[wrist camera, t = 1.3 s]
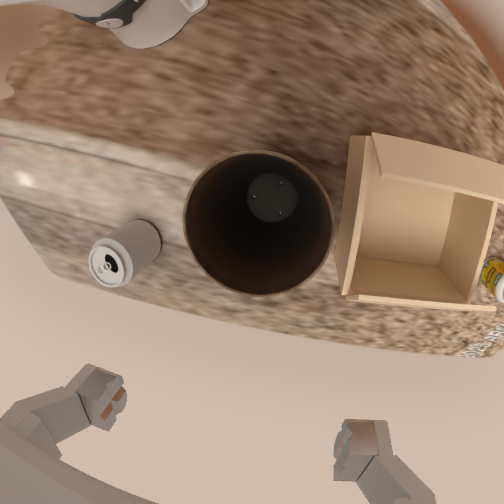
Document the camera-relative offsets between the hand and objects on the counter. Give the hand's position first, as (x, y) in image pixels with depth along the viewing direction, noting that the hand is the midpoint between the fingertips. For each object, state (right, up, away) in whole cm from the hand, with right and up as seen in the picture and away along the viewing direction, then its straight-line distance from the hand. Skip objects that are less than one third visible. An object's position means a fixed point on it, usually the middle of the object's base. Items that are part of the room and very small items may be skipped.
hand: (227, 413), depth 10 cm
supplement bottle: (+42, +2, +33) cm, 53 cm away
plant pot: (+4, +14, +35) cm, 38 cm away
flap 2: (+20, 0, +21) cm, 29 cm away
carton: (+23, +12, +32) cm, 41 cm away
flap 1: (+21, +14, +15) cm, 29 cm away
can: (-17, +8, +41) cm, 45 cm away
